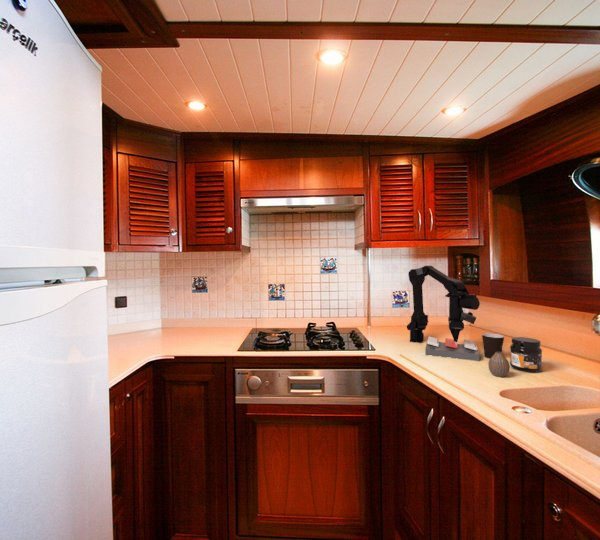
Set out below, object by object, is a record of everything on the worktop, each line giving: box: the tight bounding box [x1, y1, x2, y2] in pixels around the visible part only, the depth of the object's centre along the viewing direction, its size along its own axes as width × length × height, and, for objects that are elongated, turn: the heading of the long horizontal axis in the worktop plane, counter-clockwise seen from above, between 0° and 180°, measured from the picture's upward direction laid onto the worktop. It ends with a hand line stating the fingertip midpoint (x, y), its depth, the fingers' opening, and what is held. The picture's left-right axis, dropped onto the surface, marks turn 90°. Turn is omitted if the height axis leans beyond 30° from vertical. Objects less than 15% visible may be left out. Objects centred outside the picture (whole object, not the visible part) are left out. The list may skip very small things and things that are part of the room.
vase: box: [488, 352, 511, 378], centre depth 120 cm, size 7×7×9 cm
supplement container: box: [509, 336, 543, 374], centre depth 128 cm, size 10×10×12 cm
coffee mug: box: [481, 332, 505, 360], centre depth 144 cm, size 12×9×10 cm
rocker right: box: [462, 339, 478, 351], centre depth 148 cm, size 5×11×1 cm, turn 156°
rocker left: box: [426, 336, 440, 347], centre depth 155 cm, size 5×11×1 cm, turn 156°
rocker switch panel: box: [424, 341, 480, 362], centre depth 150 cm, size 22×16×3 cm
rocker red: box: [444, 337, 458, 348], centre depth 152 cm, size 5×11×1 cm, turn 155°
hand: (455, 339), depth 151 cm, fingers open, 9 cm apart
